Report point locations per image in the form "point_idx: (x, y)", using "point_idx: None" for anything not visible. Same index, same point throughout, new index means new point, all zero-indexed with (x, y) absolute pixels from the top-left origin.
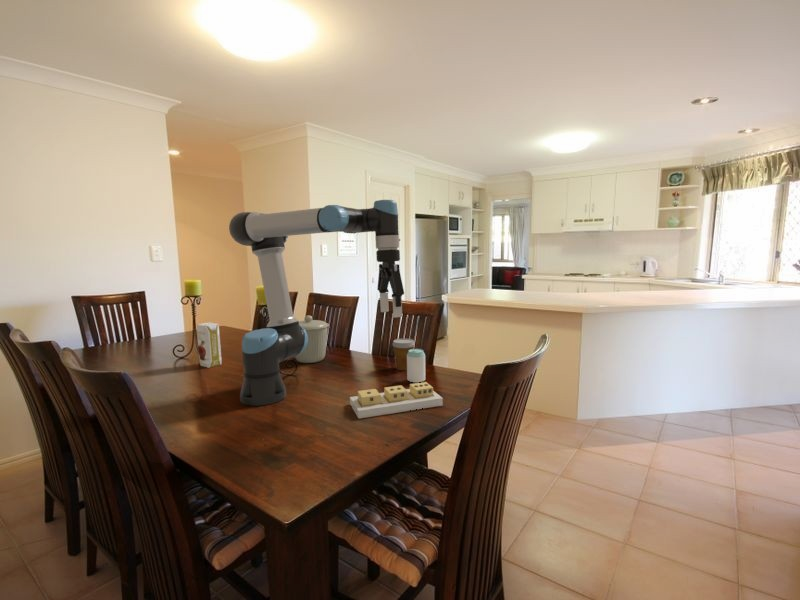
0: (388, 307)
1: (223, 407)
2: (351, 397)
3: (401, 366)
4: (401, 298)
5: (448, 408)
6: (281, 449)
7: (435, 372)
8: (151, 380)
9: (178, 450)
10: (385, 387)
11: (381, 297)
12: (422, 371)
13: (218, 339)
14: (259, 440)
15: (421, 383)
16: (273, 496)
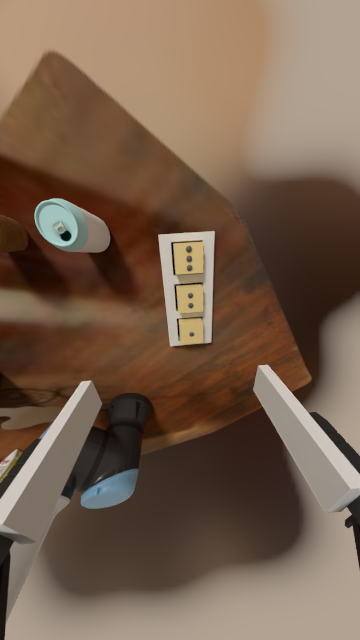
0: (81, 397)
1: (147, 426)
2: (171, 344)
3: (21, 243)
4: (349, 461)
5: (223, 228)
6: (237, 388)
7: (40, 169)
8: None
9: (211, 431)
10: (178, 312)
11: (57, 491)
12: (99, 223)
13: None
14: (217, 400)
15: (178, 254)
16: (287, 387)
